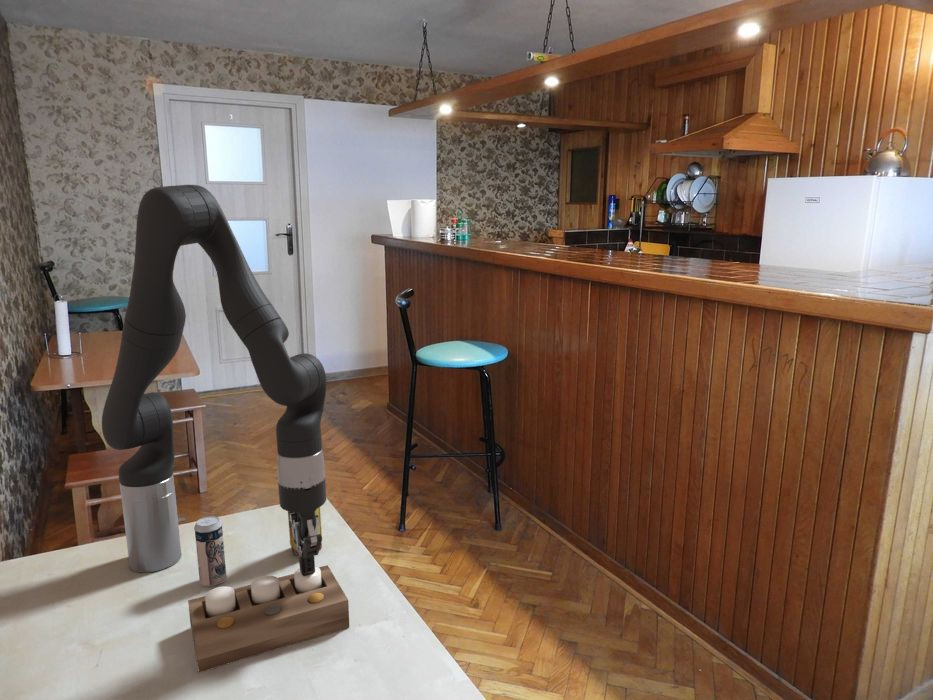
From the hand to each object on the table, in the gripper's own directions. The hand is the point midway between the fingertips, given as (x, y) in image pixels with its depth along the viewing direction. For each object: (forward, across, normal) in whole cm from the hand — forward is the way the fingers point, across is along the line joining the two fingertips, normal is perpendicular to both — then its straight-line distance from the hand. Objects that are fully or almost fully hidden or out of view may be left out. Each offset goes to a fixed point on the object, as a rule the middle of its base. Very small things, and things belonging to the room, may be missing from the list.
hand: (307, 573), depth 110 cm
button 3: (+3, 0, 0) cm, 3 cm away
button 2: (+3, 0, -7) cm, 8 cm away
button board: (+7, +2, -7) cm, 10 cm away
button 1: (+3, 0, -14) cm, 14 cm away
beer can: (+7, -17, -14) cm, 23 cm away
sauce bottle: (+7, -20, +4) cm, 22 cm away
